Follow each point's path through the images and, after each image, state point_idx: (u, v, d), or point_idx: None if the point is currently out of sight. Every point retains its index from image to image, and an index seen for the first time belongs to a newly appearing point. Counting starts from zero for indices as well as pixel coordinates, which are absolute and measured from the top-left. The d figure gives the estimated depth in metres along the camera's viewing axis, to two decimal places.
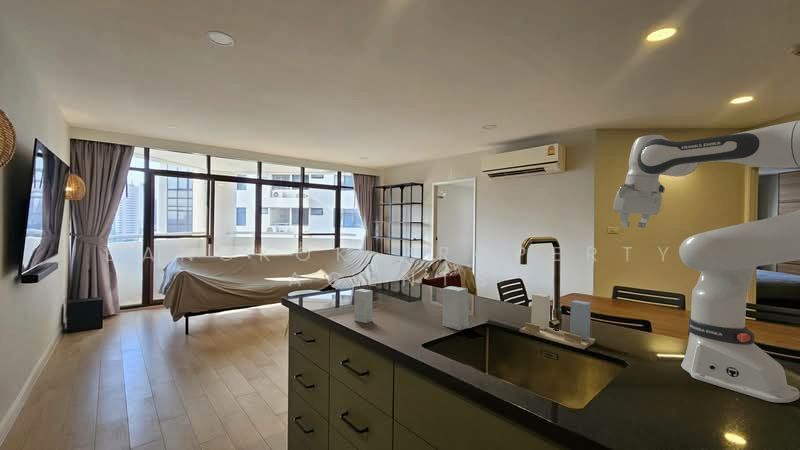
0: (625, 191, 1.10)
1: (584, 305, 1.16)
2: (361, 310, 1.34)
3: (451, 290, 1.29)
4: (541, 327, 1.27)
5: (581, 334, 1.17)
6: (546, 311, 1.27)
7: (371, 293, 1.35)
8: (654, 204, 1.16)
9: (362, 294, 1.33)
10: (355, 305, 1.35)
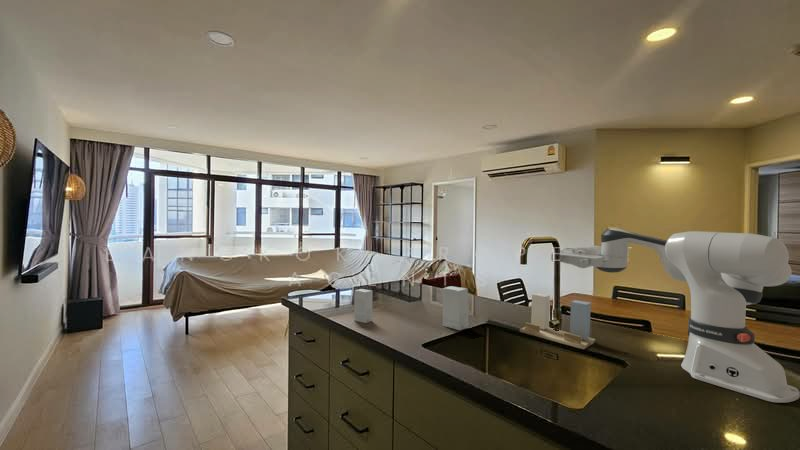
0: None
1: (584, 305, 1.16)
2: (361, 310, 1.34)
3: (451, 290, 1.29)
4: (541, 327, 1.27)
5: (581, 334, 1.17)
6: (546, 311, 1.27)
7: (371, 293, 1.35)
8: None
9: (362, 294, 1.33)
10: (355, 305, 1.35)
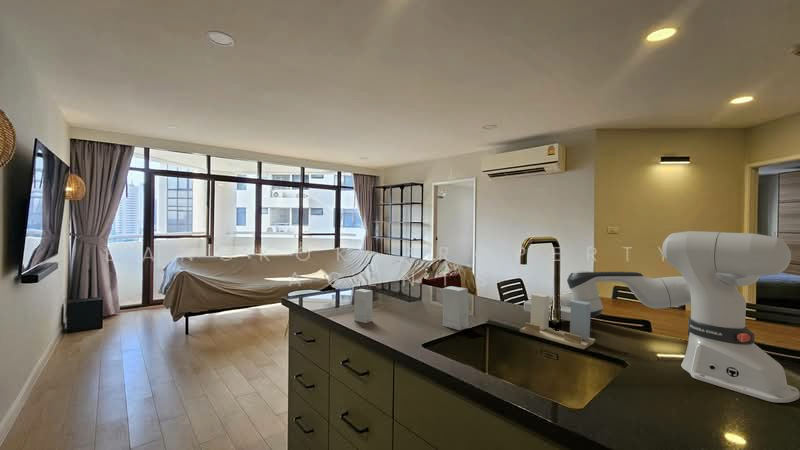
0: None
1: (584, 305, 1.16)
2: (361, 310, 1.34)
3: (451, 290, 1.29)
4: (540, 327, 1.27)
5: (581, 334, 1.17)
6: (545, 311, 1.27)
7: (371, 293, 1.35)
8: None
9: (362, 294, 1.33)
10: (355, 305, 1.35)
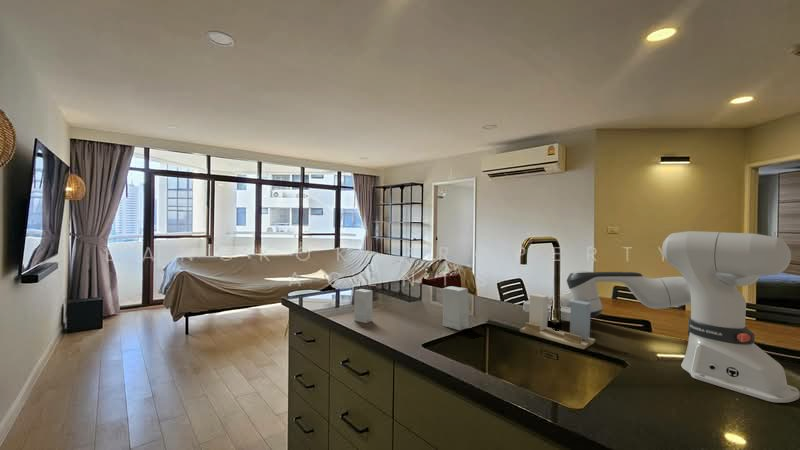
0: None
1: (584, 305, 1.16)
2: (361, 310, 1.34)
3: (451, 290, 1.29)
4: None
5: (581, 334, 1.17)
6: (544, 312, 1.26)
7: (371, 293, 1.35)
8: None
9: (362, 294, 1.33)
10: (355, 305, 1.35)
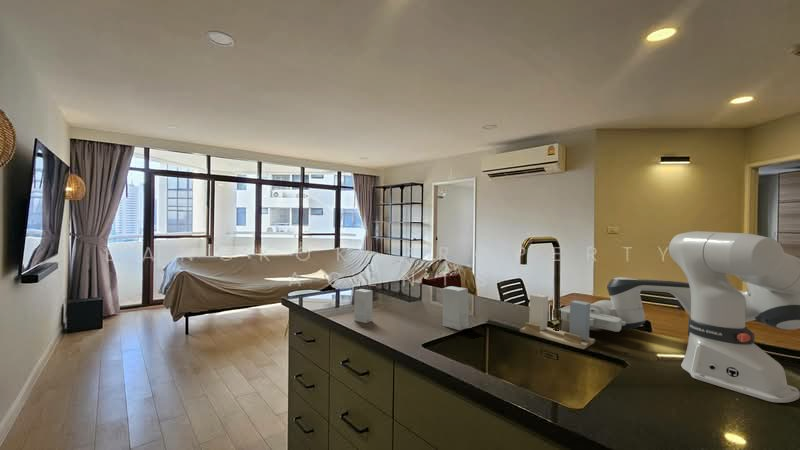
0: None
1: (583, 305, 1.16)
2: (361, 310, 1.34)
3: (451, 290, 1.29)
4: None
5: (580, 334, 1.17)
6: (544, 312, 1.26)
7: (371, 293, 1.35)
8: None
9: (362, 294, 1.33)
10: (355, 305, 1.35)
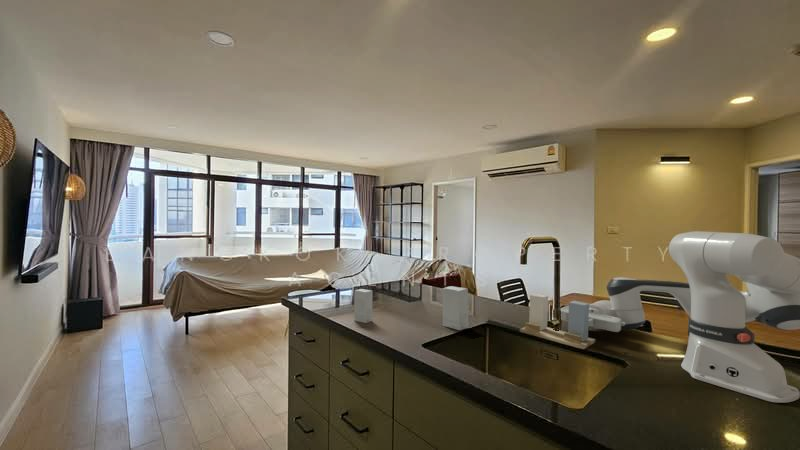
0: None
1: (582, 306, 1.15)
2: (361, 310, 1.34)
3: (451, 290, 1.29)
4: None
5: (579, 335, 1.16)
6: (544, 312, 1.26)
7: (371, 293, 1.35)
8: None
9: (362, 294, 1.33)
10: (355, 305, 1.35)
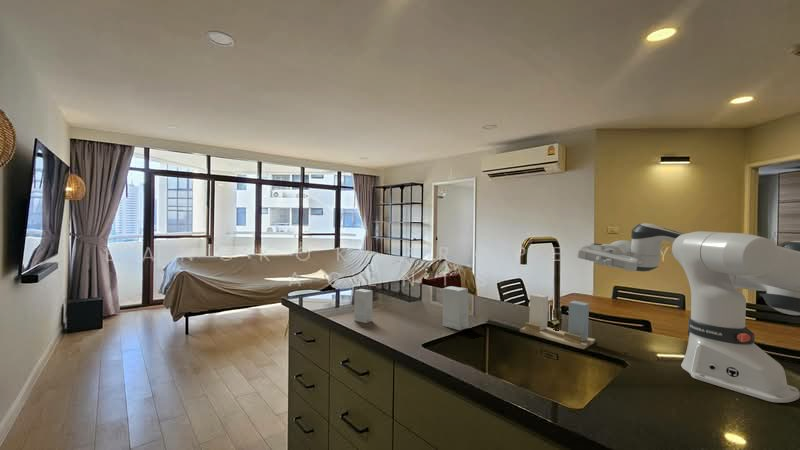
0: None
1: (582, 306, 1.15)
2: (361, 310, 1.34)
3: (451, 290, 1.29)
4: None
5: (579, 335, 1.16)
6: (544, 312, 1.26)
7: (371, 293, 1.35)
8: None
9: (362, 294, 1.33)
10: (355, 305, 1.35)
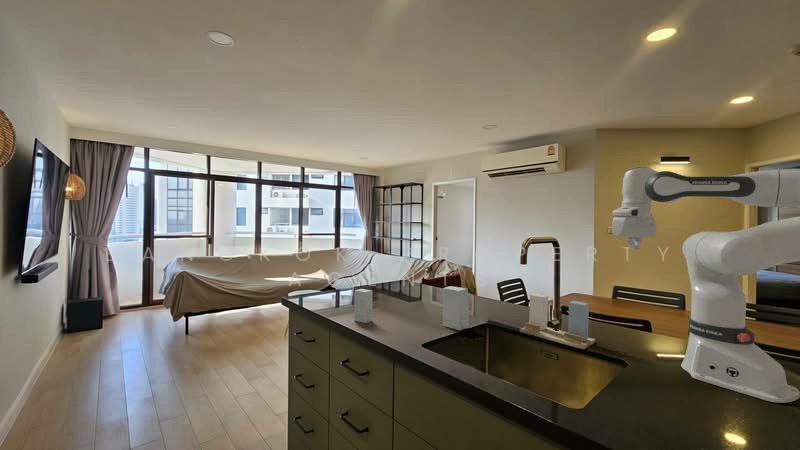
0: None
1: (582, 306, 1.15)
2: (361, 310, 1.34)
3: (451, 290, 1.29)
4: None
5: (579, 335, 1.16)
6: (544, 312, 1.26)
7: (371, 293, 1.35)
8: None
9: (362, 294, 1.33)
10: (355, 305, 1.35)
